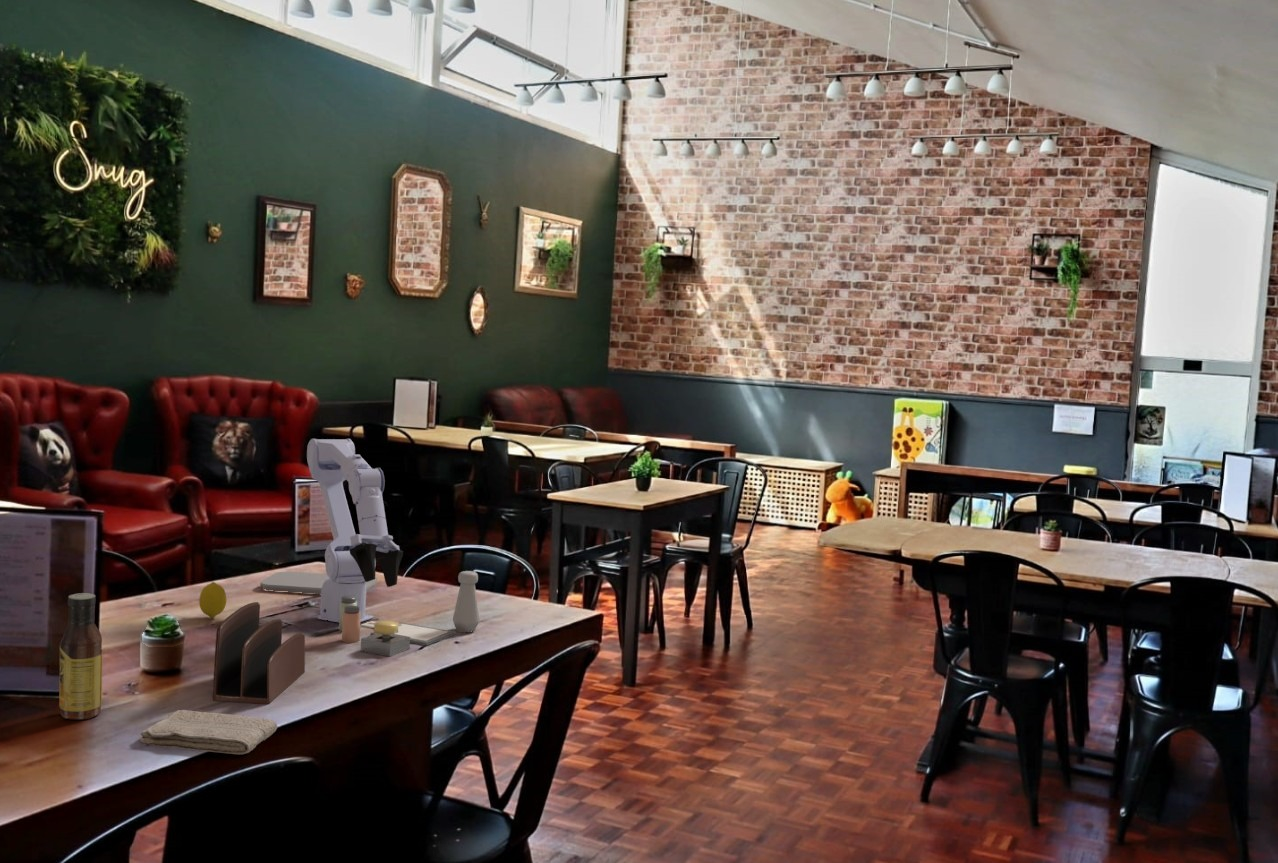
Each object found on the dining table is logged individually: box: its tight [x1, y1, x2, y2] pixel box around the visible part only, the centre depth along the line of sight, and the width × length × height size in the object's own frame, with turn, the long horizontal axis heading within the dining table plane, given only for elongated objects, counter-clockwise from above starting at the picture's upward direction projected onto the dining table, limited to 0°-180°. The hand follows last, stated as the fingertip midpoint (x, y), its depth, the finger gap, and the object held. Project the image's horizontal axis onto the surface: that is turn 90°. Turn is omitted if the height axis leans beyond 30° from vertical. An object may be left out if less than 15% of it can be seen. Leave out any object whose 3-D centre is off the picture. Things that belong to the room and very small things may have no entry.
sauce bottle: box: [58, 592, 103, 721], centre depth 189 cm, size 7×6×20 cm
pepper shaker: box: [341, 606, 361, 644], centre depth 244 cm, size 4×4×7 cm
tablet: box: [259, 571, 378, 594], centre depth 291 cm, size 16×26×2 cm, turn 88°
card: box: [360, 620, 377, 629], centre depth 258 cm, size 5×4×1 cm
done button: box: [373, 620, 399, 640], centre depth 239 cm, size 5×5×4 cm
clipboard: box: [370, 622, 456, 646], centre depth 252 cm, size 14×11×1 cm
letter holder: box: [211, 601, 306, 705], centre depth 211 cm, size 10×20×14 cm, turn 178°
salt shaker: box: [452, 570, 480, 633], centre depth 258 cm, size 6×6×13 cm
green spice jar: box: [338, 596, 357, 632], centre depth 253 cm, size 4×4×7 cm
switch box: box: [360, 633, 411, 657], centre depth 239 cm, size 7×7×2 cm
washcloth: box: [139, 709, 278, 755], centre depth 184 cm, size 12×18×3 cm, turn 85°
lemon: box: [198, 582, 227, 619], centre depth 256 cm, size 6×6×8 cm
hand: (381, 583), depth 244 cm, fingers open, 7 cm apart
